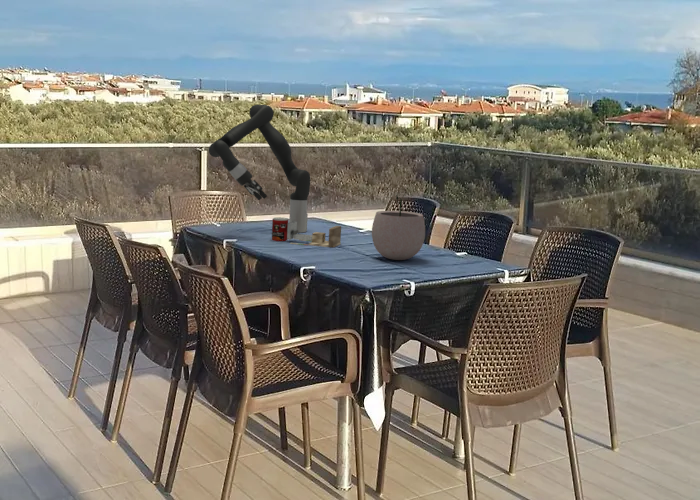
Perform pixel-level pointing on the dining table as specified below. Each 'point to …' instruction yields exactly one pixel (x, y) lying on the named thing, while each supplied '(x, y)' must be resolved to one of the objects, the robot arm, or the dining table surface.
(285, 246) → the dining table surface
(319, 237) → the wooden stand
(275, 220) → the canned food
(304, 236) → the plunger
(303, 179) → the robot arm
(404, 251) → the plant pot
